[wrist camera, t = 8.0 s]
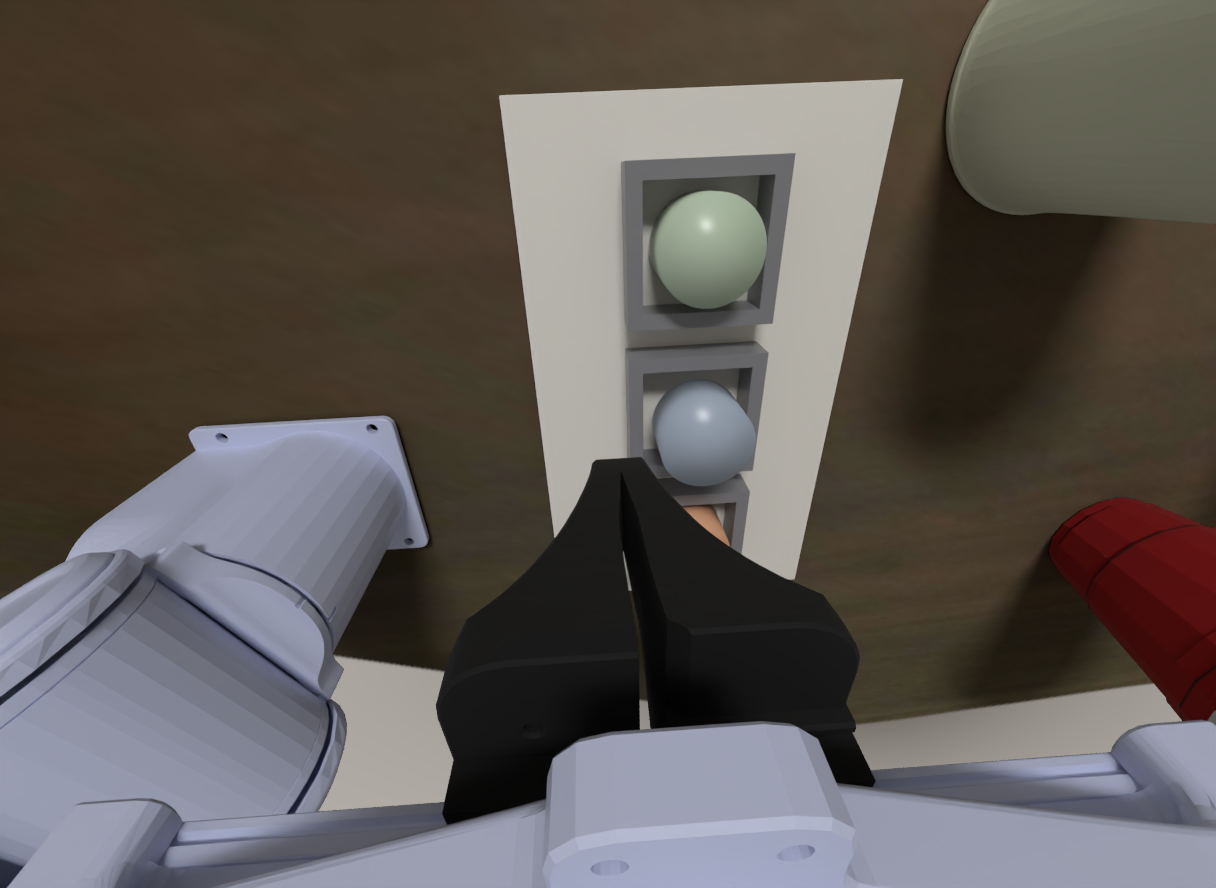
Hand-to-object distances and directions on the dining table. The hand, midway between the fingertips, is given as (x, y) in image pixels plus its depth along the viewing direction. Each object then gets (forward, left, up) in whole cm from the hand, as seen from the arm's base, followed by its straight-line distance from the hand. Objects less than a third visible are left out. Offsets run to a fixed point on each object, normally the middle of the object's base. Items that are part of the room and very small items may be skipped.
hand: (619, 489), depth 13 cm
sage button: (+4, +5, -9) cm, 11 cm away
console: (+4, -2, -10) cm, 11 cm away
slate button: (+4, -2, -8) cm, 9 cm away
